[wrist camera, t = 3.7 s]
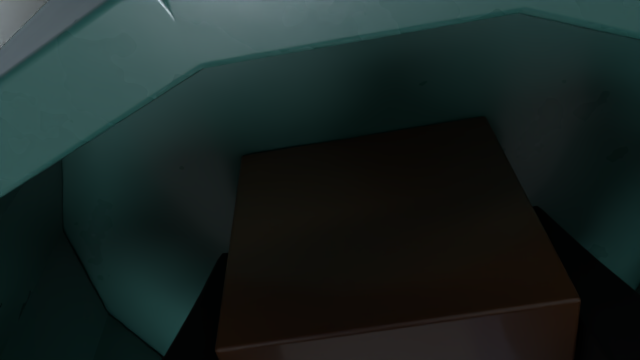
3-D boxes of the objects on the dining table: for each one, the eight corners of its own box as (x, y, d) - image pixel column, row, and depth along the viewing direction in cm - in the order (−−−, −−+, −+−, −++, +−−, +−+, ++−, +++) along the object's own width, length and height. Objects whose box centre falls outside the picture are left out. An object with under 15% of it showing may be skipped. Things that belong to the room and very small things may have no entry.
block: (486, 114, 11) (584, 299, 7) (488, 290, 13) (561, 494, 9) (240, 154, 11) (212, 350, 7) (289, 319, 13) (286, 526, 10)
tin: (867, 137, 12) (1224, 375, 7) (413, 464, 18) (452, 702, 13) (276, -438, 7) (237, -797, 2) (-67, 280, 13) (-256, 555, 9)
